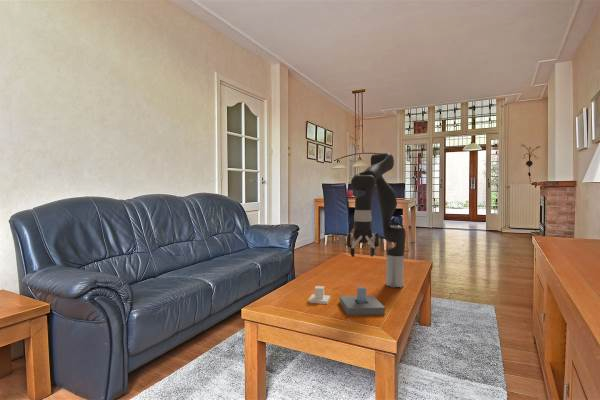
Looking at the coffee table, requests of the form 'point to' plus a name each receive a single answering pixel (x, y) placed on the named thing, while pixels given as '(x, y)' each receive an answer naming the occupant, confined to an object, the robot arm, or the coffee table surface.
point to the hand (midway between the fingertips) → (362, 256)
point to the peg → (361, 295)
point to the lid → (319, 296)
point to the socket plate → (362, 306)
